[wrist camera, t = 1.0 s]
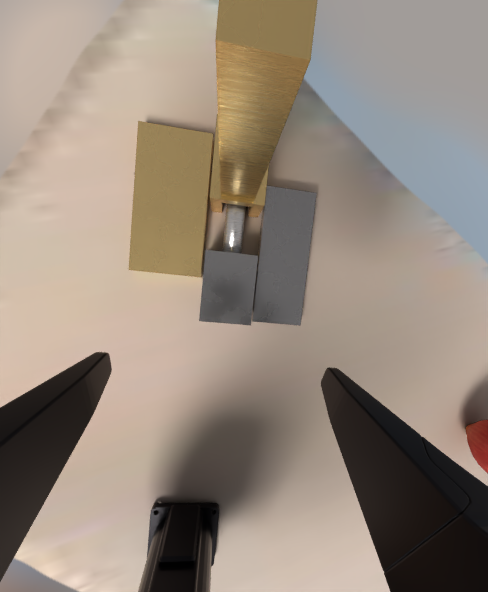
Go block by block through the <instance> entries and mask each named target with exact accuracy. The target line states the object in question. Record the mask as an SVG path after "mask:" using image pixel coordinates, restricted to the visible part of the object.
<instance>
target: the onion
mask: <svg viewBox="0 0 488 592" xmlns="http://www.w3.org/2000/svg"><path fill="white" fill-rule="evenodd" d="M466 434H467V440H468V444H469V447H470V450H471V452H472V455H473V457H474V458H475V460H476V461H477V463H478V464H479V465H480V466H481V467H482V468H483V469H484V470H485V471H486V472H487V473H488V420H482V421H478V422H476V423H473V424H469V425H468V426H467V427H466Z"/></svg>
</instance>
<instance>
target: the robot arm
mask: <svg viewBox="0 0 488 592" xmlns="http://www.w3.org/2000/svg"><path fill="white" fill-rule="evenodd" d="M111 370H112V368H111V362H110V356H109V354H108V353H105V352H96V353H94V354H92V355H90V356H89V357H87V358H85V359H84V360H82V361H80V362H78V363H77V364H75V365H73V366H71V367H70V368H68V369H66V370H64V371H63V372H61V373H59V374H58V375H56V376H54V377H52V378H51V379H49V380H47V381H45V382H44V383H42V384H40V385H39V386H37V387H35V388H33V389H32V390H30V391H28V392H26V393H25V394H23V395H21V396H20V397H18V398H16V399H14V400H13V401H11V402H9V403H7V404H6V405H4V406H2V407H1V408H0V581H1V580H2V578H3V576H4V574H5V572H6V571H7V569H8V567H9V565H10V563H11V562H12V560H13V558H14V556H15V554H16V553H17V551H18V549H19V547H20V545H21V544H22V542H23V540H24V538H25V536H26V535H27V533H28V531H29V529H30V527H31V526H32V524H33V522H34V520H35V518H36V517H37V515H38V513H39V511H40V509H41V508H42V506H43V504H44V502H45V500H46V499H47V497H48V495H49V493H50V491H51V490H52V488H53V486H54V484H55V482H56V481H57V479H58V477H59V475H60V473H61V472H62V470H63V468H64V466H65V464H66V463H67V461H68V459H69V457H70V455H71V454H72V452H73V450H74V448H75V446H76V445H77V443H78V441H79V439H80V437H81V436H82V434H83V432H84V430H85V428H86V427H87V425H88V423H89V421H90V419H91V417H92V415H93V414H94V411H95V409H96V407H97V405H98V402H99V400H100V398H101V395H102V393H103V391H104V388H105V386H106V384H107V381H108V379H109V377H110V374H111ZM321 387H322V391H323V395H324V399H325V403H326V407H327V411H328V415H329V419H330V422H331V425H332V428H333V431H334V434H335V436H336V439H337V442H338V445H339V448H340V451H341V453H342V456H343V459H344V462H345V465H346V467H347V470H348V473H349V476H350V479H351V481H352V484H353V487H354V490H355V493H356V495H357V498H358V501H359V504H360V507H361V510H362V512H363V515H364V518H365V521H366V524H367V526H368V529H369V532H370V535H371V538H372V540H373V543H374V546H375V549H376V552H377V554H378V557H379V560H380V563H381V566H382V569H383V571H384V575H385V577H386V580H387V583H388V586H389V589H390V592H488V486H487V485H485V484H484V483H483V482H481V481H480V480H478V479H477V478H476V477H474V476H473V475H472V474H470V473H469V472H468V471H466V470H465V469H464V468H462V467H461V466H459V465H458V464H457V463H455V462H454V461H453V460H451V459H450V458H449V457H448V456H446V455H445V454H444V453H442V452H441V451H440V450H439V449H437V448H436V447H435V446H434V445H432V444H431V443H430V442H429V441H427V440H426V439H425V438H424V437H421V435H420V434H419V433H417V432H416V431H415V430H414V429H412V428H411V427H410V426H409V425H407V424H406V423H405V422H404V421H402V420H401V419H400V418H399V417H397V416H396V415H395V414H394V413H392V412H391V411H390V410H389V409H387V408H386V407H385V406H384V405H382V404H381V403H380V402H379V401H377V400H376V399H375V398H374V397H372V396H371V395H370V394H369V393H367V392H366V391H365V390H364V389H363V388H361V387H360V386H359V385H358V384H356V383H355V382H354V381H353V380H351V379H350V378H349V377H348V376H346V375H345V374H344V373H343V372H341V371H340V370H339V369H337V368H327V369H326V371H325V373H324V376H323V378H322V381H321ZM157 510H158V511H157ZM218 517H219V506H218V504H216V503H157V504H154V505H153V507H152V510H151V514H150V527H149V540H148V553H147V561H146V564H145V568H144V572H143V575H142V579H141V583H140V586H139V590H138V592H210V581H211V566H212V565H213V564H214V556H215V546H216V537H217V527H218Z"/></svg>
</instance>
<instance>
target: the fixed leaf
mask: <svg viewBox="0 0 488 592" xmlns="http://www.w3.org/2000/svg"><path fill="white" fill-rule="evenodd" d="M316 194H317V193H313V192H306V191H300V190H293V189H286V188H280V187H273V186H267V187H266V196H265V205H264V207H263V213H262V223H261V232H260V241H259V251H258V256H256V255H248V254H241V249H242V239H243V229H244V219H245V209H246V206H242V205H235V204H227V209H226V219H225V230H224V240H223V251H213V250H206V251H205V262H204V273H203V285H202V296H201V307H200V318H199V321H205V322H217V323H230V324H242V325H251V320H252V321H254V322H266V323H278V324H290V325H300V324H301V316H302V308H303V300H304V292H305V283H306V275H307V267H308V259H309V251H310V243H311V234H312V226H313V218H314V210H315V202H316Z"/></svg>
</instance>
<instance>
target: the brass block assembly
mask: <svg viewBox="0 0 488 592" xmlns="http://www.w3.org/2000/svg"><path fill="white" fill-rule="evenodd" d="M316 8H317V0H219V7H218V19H217V30H216V65H217V96H218V114H217V121H216V132H215V143H214V140H213V134H212V133H206V132H200V131H194V130H188V129H182V128H177V127H171V126H165V125H159V124H153V123H147V122H141V121H138V134H137V149H136V165H135V180H134V196H133V211H132V226H131V242H130V257H129V270H135V271H145V272H155V273H164V274H174V275H184V276H194V277H202V267H203V255H204V244H205V233H206V222H207V210H208V199H209V188H210V176H211V165H212V154H213V143H214V154H213V165H212V177H211V188H210V203H211V209H212V211H213V212H221V213H222V206H223V203H227V204H235V205H242V206H249V212H248V216H250V217H258V216H259V214H260V213H261V211H262V209H263V207H264V205H265V196H266V186H267V177H268V168H269V163H270V160H271V158H272V155H273V153H274V150H275V148H276V145H277V143H278V140H279V138H280V135H281V133H282V130H283V128H284V125H285V123H286V120H287V118H288V115H289V113H290V110H291V108H292V105H293V103H294V100H295V98H296V95H297V93H298V90H299V88H300V85H301V83H302V80H303V78H304V75H305V73H306V70H307V67H308V65H309V62H310V59H311V50H312V41H313V34H314V25H315V16H316Z"/></svg>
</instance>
